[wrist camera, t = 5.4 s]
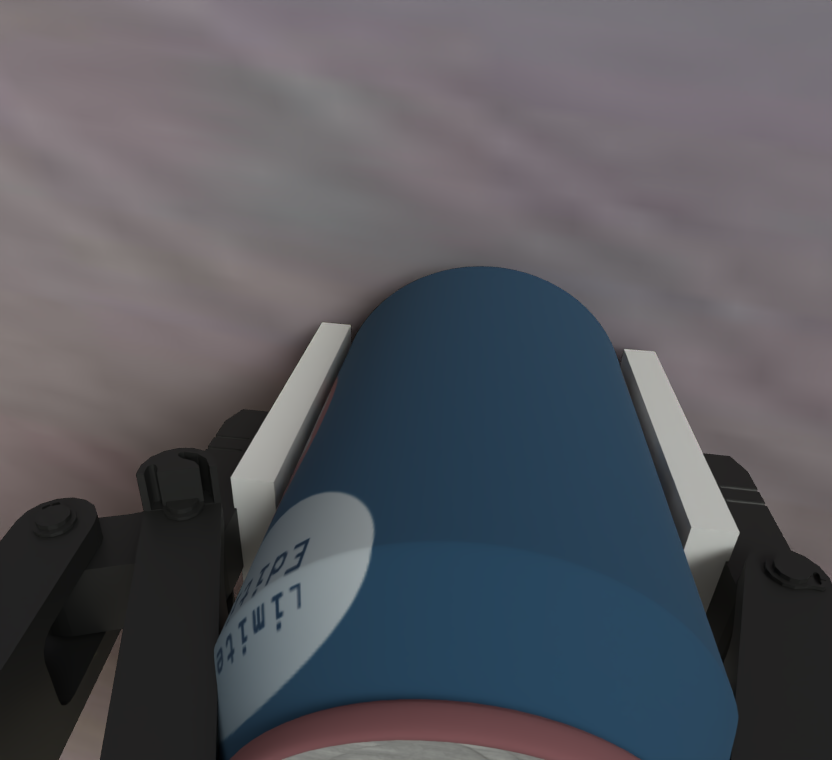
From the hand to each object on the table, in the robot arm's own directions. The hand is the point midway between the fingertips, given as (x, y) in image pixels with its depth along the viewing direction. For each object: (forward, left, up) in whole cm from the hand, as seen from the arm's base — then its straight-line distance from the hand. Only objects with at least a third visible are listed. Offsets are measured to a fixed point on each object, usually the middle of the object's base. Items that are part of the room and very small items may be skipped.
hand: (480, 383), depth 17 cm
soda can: (0, 0, -1) cm, 1 cm away
